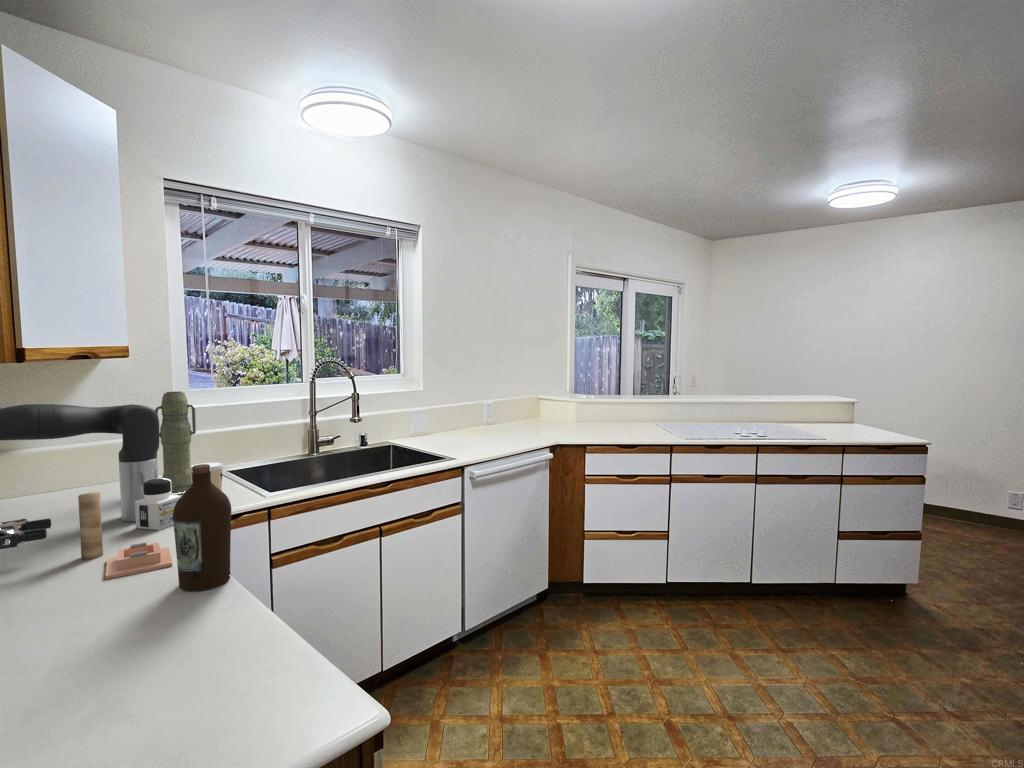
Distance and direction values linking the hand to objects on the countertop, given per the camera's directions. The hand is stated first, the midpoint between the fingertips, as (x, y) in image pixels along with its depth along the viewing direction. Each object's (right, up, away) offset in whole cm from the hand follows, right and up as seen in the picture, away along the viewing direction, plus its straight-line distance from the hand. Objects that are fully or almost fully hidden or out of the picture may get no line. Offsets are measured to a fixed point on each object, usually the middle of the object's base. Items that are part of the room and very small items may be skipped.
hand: (48, 527), depth 120 cm
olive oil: (+41, -9, -9) cm, 43 cm away
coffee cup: (+7, -6, +51) cm, 52 cm away
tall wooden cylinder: (+6, -8, +5) cm, 11 cm away
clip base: (+20, -8, +1) cm, 22 cm away
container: (+7, -7, +28) cm, 29 cm away
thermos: (-10, -5, +62) cm, 63 cm away
